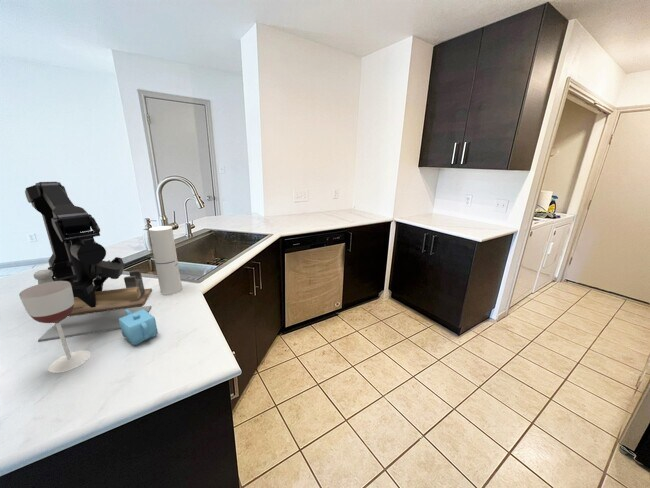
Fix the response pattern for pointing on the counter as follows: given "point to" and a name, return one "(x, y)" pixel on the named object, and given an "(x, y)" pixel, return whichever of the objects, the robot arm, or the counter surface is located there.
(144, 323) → the light blue knobbed box
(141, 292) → the rail stand
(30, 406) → the counter surface
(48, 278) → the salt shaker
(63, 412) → the counter surface
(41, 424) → the counter surface
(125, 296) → the oak rail
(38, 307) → the wineglass
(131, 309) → the grey mat
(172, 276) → the cylindrical container
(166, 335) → the counter surface
